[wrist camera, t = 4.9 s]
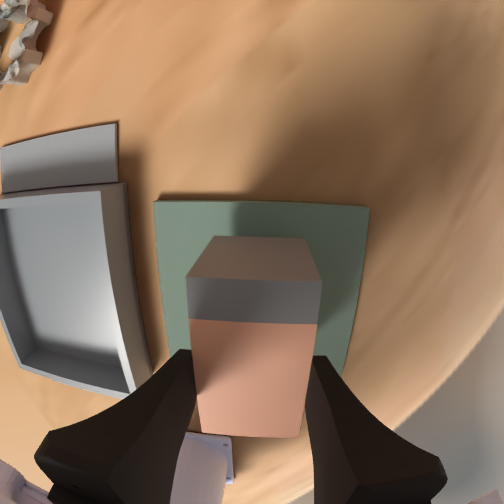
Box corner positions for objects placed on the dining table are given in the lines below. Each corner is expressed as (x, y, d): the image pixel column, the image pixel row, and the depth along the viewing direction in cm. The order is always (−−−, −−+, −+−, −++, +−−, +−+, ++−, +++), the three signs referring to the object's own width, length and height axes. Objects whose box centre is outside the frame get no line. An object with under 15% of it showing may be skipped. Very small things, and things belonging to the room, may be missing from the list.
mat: (339, 372, 20) (340, 378, 20) (174, 365, 21) (172, 370, 20) (367, 206, 16) (370, 208, 16) (157, 199, 17) (153, 201, 17)
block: (293, 368, 17) (298, 437, 12) (218, 364, 18) (201, 432, 12) (304, 238, 15) (322, 281, 10) (213, 235, 15) (185, 276, 10)
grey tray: (160, 403, 23) (150, 431, 20) (49, 377, 23) (34, 397, 20) (125, 122, 16) (98, 120, 13) (-2, 149, 16) (-31, 153, 13)
